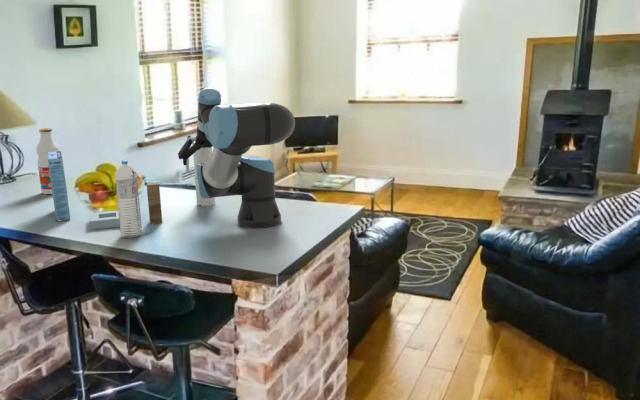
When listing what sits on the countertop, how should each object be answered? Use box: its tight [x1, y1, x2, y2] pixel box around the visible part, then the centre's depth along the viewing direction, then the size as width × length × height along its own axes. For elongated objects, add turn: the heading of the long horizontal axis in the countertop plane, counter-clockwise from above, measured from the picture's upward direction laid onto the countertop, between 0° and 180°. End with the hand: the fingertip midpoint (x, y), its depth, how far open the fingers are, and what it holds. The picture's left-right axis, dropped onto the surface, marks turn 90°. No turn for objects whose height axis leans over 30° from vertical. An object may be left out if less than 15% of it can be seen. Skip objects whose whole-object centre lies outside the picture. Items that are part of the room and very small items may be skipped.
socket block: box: [88, 210, 120, 231], centre depth 213 cm, size 12×12×3 cm
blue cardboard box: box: [48, 150, 71, 221], centre depth 224 cm, size 20×5×23 cm, turn 23°
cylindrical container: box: [192, 141, 216, 207], centre depth 236 cm, size 7×7×25 cm
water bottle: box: [114, 159, 143, 239], centre depth 196 cm, size 7×7×25 cm
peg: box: [145, 181, 163, 225], centre depth 213 cm, size 4×4×14 cm
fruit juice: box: [35, 128, 60, 195], centre depth 262 cm, size 9×9×28 cm
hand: (205, 168), depth 230 cm, fingers open, 13 cm apart
